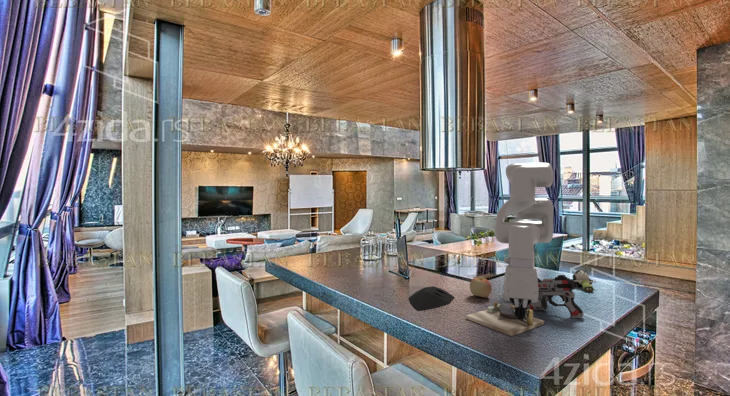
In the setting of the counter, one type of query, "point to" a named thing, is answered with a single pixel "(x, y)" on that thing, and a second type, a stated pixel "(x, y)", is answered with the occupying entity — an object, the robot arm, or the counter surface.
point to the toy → (583, 280)
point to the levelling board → (502, 321)
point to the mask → (430, 298)
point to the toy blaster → (557, 288)
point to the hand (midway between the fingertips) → (520, 318)
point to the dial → (509, 312)
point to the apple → (480, 287)
